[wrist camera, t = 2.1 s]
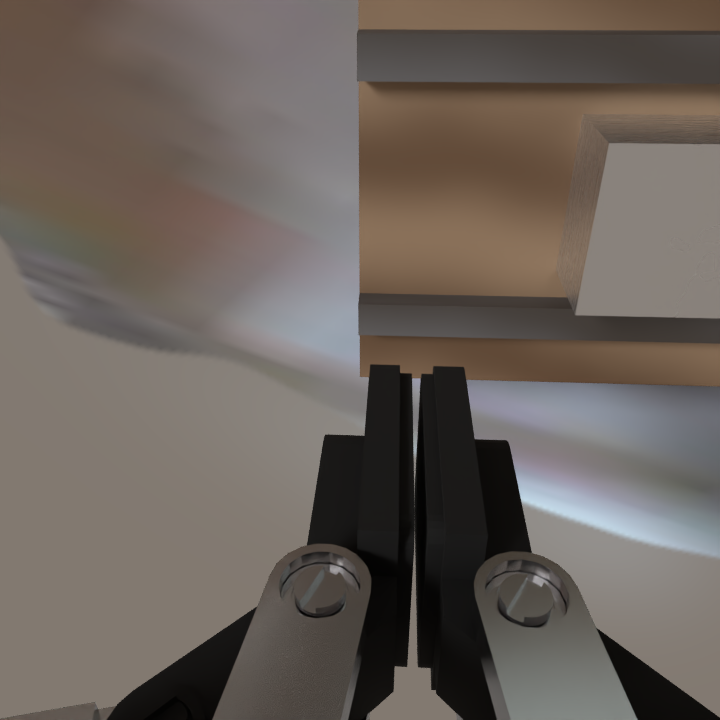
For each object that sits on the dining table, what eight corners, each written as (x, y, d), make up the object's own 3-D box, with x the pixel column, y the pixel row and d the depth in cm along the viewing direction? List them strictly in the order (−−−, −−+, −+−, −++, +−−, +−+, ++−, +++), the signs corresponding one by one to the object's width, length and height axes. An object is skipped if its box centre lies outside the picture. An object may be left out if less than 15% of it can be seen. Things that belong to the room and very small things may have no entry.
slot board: (366, -73, 22) (356, -69, 17) (1019, -75, 21) (1208, -71, 16) (366, 310, 29) (358, 389, 24) (841, 321, 28) (931, 405, 24)
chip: (582, 113, 20) (609, 143, 17) (759, 115, 19) (812, 145, 17) (555, 270, 22) (575, 315, 20) (710, 273, 22) (749, 319, 20)
